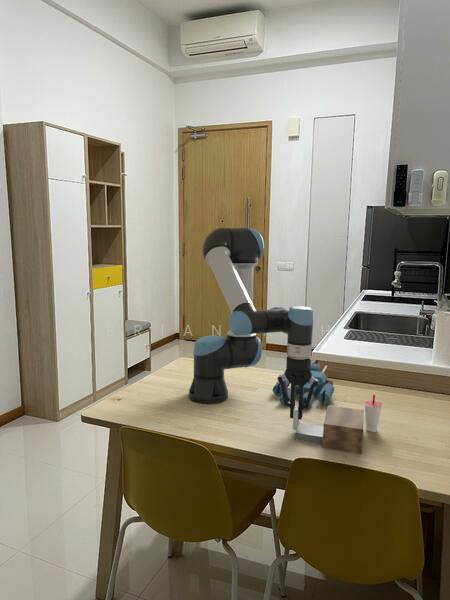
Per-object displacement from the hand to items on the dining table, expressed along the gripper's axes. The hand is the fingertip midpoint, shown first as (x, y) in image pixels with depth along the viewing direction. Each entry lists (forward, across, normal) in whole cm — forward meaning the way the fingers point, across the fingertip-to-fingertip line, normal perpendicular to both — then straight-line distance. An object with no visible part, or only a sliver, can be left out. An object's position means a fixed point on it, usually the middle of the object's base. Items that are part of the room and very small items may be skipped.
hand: (295, 428), depth 144 cm
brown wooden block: (+2, +14, 0) cm, 14 cm away
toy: (+2, -2, +36) cm, 36 cm away
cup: (+2, +23, +11) cm, 26 cm away
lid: (+2, +7, -1) cm, 7 cm away
